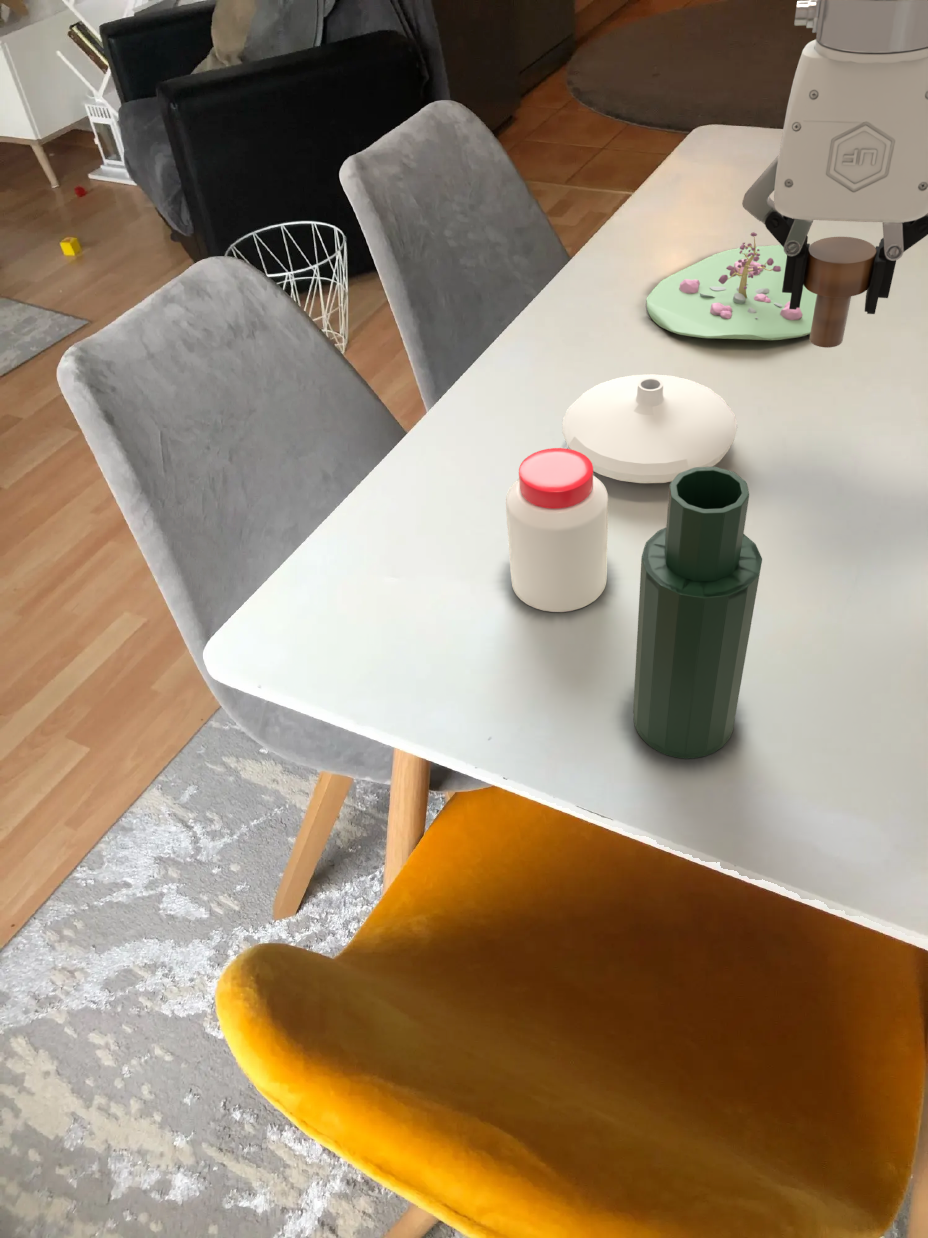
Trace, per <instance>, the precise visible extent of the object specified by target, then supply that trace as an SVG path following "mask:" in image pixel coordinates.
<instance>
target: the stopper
mask: <svg viewBox="0 0 928 1238" xmlns="http://www.w3.org/2000/svg"><path fill="white" fill-rule="evenodd" d="M876 252H877V251H876V246H875V245H874V244H873V243H871V242H869V241H867V240H866V239H865V240H864V239H861V238H857V237H851V236H830V237H825V238H820V239H817V240H816V241H813V242H811V243H810V246H809V248H808V257H807V263H806V270H805V276H804V283H803V284H804V286H805V288H806V289H807V290H809V291H810V292H812V293H815V294H817V296H816V302H815V308H814V314H813V320H812V326H811V332H810V334H809V337H808V339H809V342H810V343H811V344H812V345H813V346H816V347H819V348H825V349H827V348H828V349H829V348H836V347H838V346H840V345H842V343H843V341H844V337H845V330H846V325H847V320H848V314H849V311H850V310H849V309H850V304H851V300H852V297H855V296H856V297H857V296H859V295H861V294H863V293H865V292H867V289H868V288H869V284H870V280H871V275H872V270H873V265H874V260H875V256H876Z"/></svg>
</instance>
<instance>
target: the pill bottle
mask: <svg viewBox="0 0 928 1238" xmlns="http://www.w3.org/2000/svg"><path fill="white" fill-rule="evenodd" d="M505 513H506V525H507V526H506V527H507V529H506V530H507V543H508V553H509V556H508V557H509V568H510V570H509V571H510V581H511V586H512V590H513V592H514V594H515V595H516V597H518V599H520V600H521V601H522V603H525V604H526V605H528V606H530V607H532V608H533V609H537V610H540V611H542V612H543V611H544V612H551V613H565V612H572V611H575V610H580V609H582V608H585V607H586V606H589V605H590V604H592V603H593V602H595V601H596V600H597V599H598V598H599V597H600V596H601V595H602V594H603V592H604V590H605V588H606V586H607V581H608V579H607V578H608V536H609V535H608V533H609V532H608V529H609V527H608V526H609V494H608V491H607V488H606V486H605V485H604V483H603V482H602V481H601V480H600V479H599V478H597V477H596V476H595V475H594V471H593V465H592V462H591V461H590V460H589V458H588V457H586V456H585V455H584V454H582V453H580V452H577V451H575V450H571V449H569V448H564V447H552V448H551V447H550V448H546V449H540V450H538V451H536V452H532V453H531V454H530V455H527V457H526V458H524V459H523V460H522V462H520V465H519V467H518V478H517V480H515V481H514V482H512V484H511V486H510V487H509V488H508V490H507V492H506V496H505Z"/></svg>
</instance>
